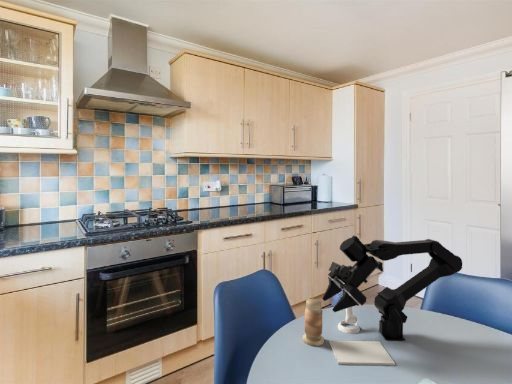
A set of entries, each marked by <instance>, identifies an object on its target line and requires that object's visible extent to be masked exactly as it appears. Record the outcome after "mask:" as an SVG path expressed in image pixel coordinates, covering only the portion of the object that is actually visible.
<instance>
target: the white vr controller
mask: <svg viewBox="0 0 512 384" xmlns="http://www.w3.org/2000/svg"><path fill="white" fill-rule="evenodd" d="M357 322H358V318H357V316H356V315H353V307H349V308H346V309H345V318H344V319H343V320H340V321H339V323H338V325H337V329H338V330H339V331H340V332H342V333H345V334H351V335H353V334H358V333H359V331H360V332H361V328H360V326H359V324H358V323H357ZM345 325H351V326H355V327H347V326H345Z"/></svg>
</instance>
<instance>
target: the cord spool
mask: <svg viewBox="0 0 512 384" xmlns="http://www.w3.org/2000/svg"><path fill="white" fill-rule="evenodd" d="M302 342H303V343H304V344H306V345H308V346H311V347H320V346H322V345H323V344H325V337H324V336H323V310H322V301H321V300H320V299H316V298H308V299H306V301H305V309H304V334H303V335H302Z"/></svg>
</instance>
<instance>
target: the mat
mask: <svg viewBox="0 0 512 384" xmlns="http://www.w3.org/2000/svg"><path fill="white" fill-rule="evenodd" d="M329 345H330V347H331V350H332V353H333V354H334V357H335V360H336V362H337V364H338V365H359V366H360V365H362V366H363V365H365V366H396V363H395V361H394V360H393V357H391V355H389V353H388V351H387V349H385V347H384V346H383V345H382V343H381V342H380V341H379V340H378V341H376V340H375V341H374V340H369V341H368V340H329Z"/></svg>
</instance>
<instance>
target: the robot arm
mask: <svg viewBox="0 0 512 384" xmlns="http://www.w3.org/2000/svg"><path fill="white" fill-rule="evenodd" d="M339 250H340V251H341V252H342V253H343V254H344V256H346V257H347V259H349V260H350V261H351V262H352V263H353V262H355V263H354V264H353V265H348V266H347V265H345V264H338V263H336V262H334V261H332V262H331V264H330V266H329V268H328V271H329V273H328V274H327V276H328V277H327V279H328V286H327V288H326V290H325V292H324V294H323V296H322V300H323V301H324V302H326V301H328V300H329V299H331V298H333V297H334V296H336V295H338V294H339V293H341V292H342V295H341V297H340V299H339V300H338V301H337V302H336V303H335V305H333V308H332V312H334V313H338V312H340V311H343V310H346V308H349V307H352V308H353V307H356V306H360V305H361V306H362V307H363V305H365V304H366V303H367V296H366V295H365V294H364V293H363V292H362V291H361V290H360V289H359V287H361V285H363V283H364V284H368V282H369V281H368V280H367V279H368V278H369V277H370V276H371V274H372V273H374V272H375V270H378V271H380V272H384V267H383V266H384V265H383V262H381V261H385V262H386V261H390V260H393V259H394V260H395V259H396V258H398V257H399V256H406V255H407V256H408V255H417V254H428V255H429V257H430V258H431V259H430V260H429V263H428V266H426V267H425V268H424V269H422V270H421V271H419V272H417V273H416V274H415V275H414V276H413V277H411V278H409V279H408V280H407V281H405V282H404V283H402V284H401V285H400V286H398V287H397V288H394V289H391V288H390V287H388V286H386V287H384V289H383V290H381V291H379V292H376V294H377V295H376V296H375V297H374V301H373V303H374V307H375V308H376V309H377V311H378V313H379V314H381V315H380V320H379V322H378V323H379V324H378V325H379V326H378V328H379V329H378V332H379V334H380V335H381V337H383V338H384V340H386V341H405V340H406V338H405V336H404V324H406V322H407V320H408V316H407V314H405V312H403V310H404V309H405V306H406V304H407V301H409V300H410V299H412V298H414V296H416V295H417V294H419V293H420V292H422V291H423V290H424V289H426V288H427V287H429V286H431V285H432V284H433V283H434V282H436V281H437V280H439V279H440V278H441V279H442V278H445V277H450V276H453V275H454V274H455V275H456V274H457V273H459V272H460V271H461V270H463V259H462V258H461V257H460V256H459V255H456V254H454V253H453V252H452V251H450V250H449V249H447V248H446V247H445V246H444V245H442V244H441V243H440V242H439V241H438V240H434V239H431V238H427V239H422V240H409V241H397V242H395V241H388V240H381V239H373V240H372V241H371V243H365V244H364V243H363V242H362V241H361V240H360V238H359V237H358V236H356V235H352V237H349V238H347V239H345V240H344V241H342V243H341V244H340V246H339ZM376 258H377V259H378V260H381V261H378V260H377V259H376Z"/></svg>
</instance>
